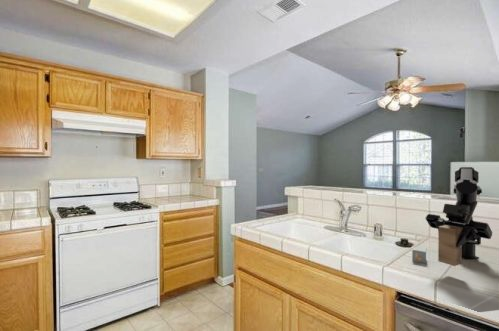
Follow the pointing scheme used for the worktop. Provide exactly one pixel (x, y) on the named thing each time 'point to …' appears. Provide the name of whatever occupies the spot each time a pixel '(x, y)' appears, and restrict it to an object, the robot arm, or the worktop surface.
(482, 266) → the worktop surface
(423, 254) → the letter block
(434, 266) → the worktop surface
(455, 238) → the walnut post
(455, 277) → the worktop surface
